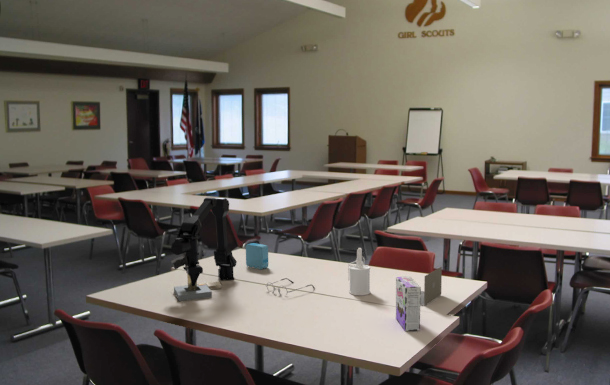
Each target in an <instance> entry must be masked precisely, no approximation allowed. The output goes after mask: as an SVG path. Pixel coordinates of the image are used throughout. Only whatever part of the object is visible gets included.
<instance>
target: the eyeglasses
mask: <svg viewBox="0 0 610 385" xmlns="http://www.w3.org/2000/svg"><path fill="white" fill-rule="evenodd" d="M284 280H288V281H289V282H291V283H292V284H294V283H295V282H294V281H292V280H291V279H289V278H287V277H286V278H282V279H280V280H276V281H274V282H269V281H268V282H267V283H266V285H265V287H266V288H267V291H268V292H269V293H272V294H273V293H275V291H278V294H279V295H280V296H282V293H281V288H280V287H281V286H275V285H274V284H275V283H278V282H281V281H284ZM269 286H272V288H273V291H272V292H271V291H270V289H269ZM310 286H312V289H315V286H314V285H313V284H307V285H305V286H302V287H300V288H296V289H293V290H290V291H288V289H287V288H286V286H284V285H282V287H284V288H285V291H286V293H285V296H288V293H292V292H295V291H297V290H300V289H304V288H307V287H310Z"/></svg>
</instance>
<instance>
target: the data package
mask: <svg viewBox="0 0 610 385" xmlns="http://www.w3.org/2000/svg"><path fill="white" fill-rule="evenodd" d="M245 265H246V267H248V266H249V268H252V267H254V268H253V269H257V268H259V269H258V270H263V268H264V269H267V268H268V267H269V247H268V245H267V244H261V243H255V242H252V243H247V244H246V245H245Z"/></svg>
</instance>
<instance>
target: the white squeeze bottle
mask: <svg viewBox="0 0 610 385" xmlns="http://www.w3.org/2000/svg"><path fill="white" fill-rule="evenodd" d="M357 248H358V249H356V259H355V260H354V261H352V262H349V263H348V272H347V273H348V281H349V290H348V293H349V294H351V295H352V296H361V297H362V296H367V295H369V294H371V290H370V288H371V286H370V283H371V282H370V280H371V279H370V278H371V277H370V276H371V274H370V272H371V271H370V270H371V265H370V266H369V265H368V264H365V261H366V259H365V258H364V256H363V249H362V247H357ZM353 263H356V264H353Z"/></svg>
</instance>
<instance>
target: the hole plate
mask: <svg viewBox="0 0 610 385" xmlns="http://www.w3.org/2000/svg"><path fill="white" fill-rule="evenodd" d="M173 292H174V294H175V296H176V298H177V300H178V301H179V302H184V301H190V300H191V301H192V300H199V299H207V298H208V299H209V298H212V297H213V292H212V289H209V288H208V286H207V285H206V282H205V283H204V282H203V283H197V290H194V291H189V290H188V284H186V285H176V286H173Z"/></svg>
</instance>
